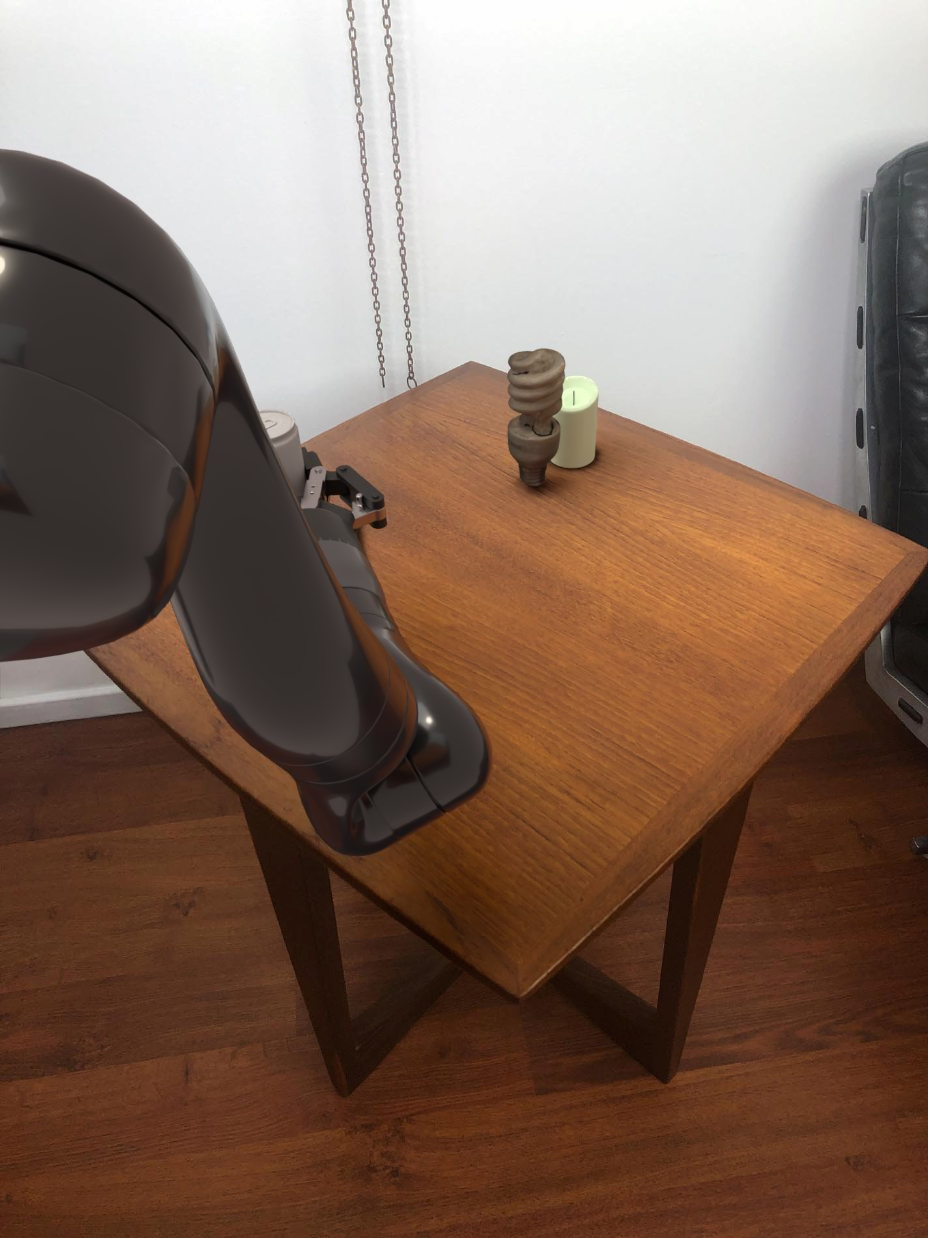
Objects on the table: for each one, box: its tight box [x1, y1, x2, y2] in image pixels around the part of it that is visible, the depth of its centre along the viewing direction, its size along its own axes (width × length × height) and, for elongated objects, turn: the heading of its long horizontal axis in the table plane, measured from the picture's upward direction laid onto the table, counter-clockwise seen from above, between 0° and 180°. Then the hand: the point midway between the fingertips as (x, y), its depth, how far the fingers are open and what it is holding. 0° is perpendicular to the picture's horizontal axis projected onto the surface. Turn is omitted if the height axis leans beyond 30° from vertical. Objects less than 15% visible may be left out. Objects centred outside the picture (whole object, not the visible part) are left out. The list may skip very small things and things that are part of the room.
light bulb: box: [506, 347, 566, 488], centre depth 94 cm, size 6×6×15 cm
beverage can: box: [258, 408, 307, 497], centre depth 74 cm, size 5×5×12 cm
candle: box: [550, 375, 600, 469], centre depth 100 cm, size 5×5×8 cm
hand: (267, 465), depth 76 cm, fingers closed on beverage can, 5 cm apart
